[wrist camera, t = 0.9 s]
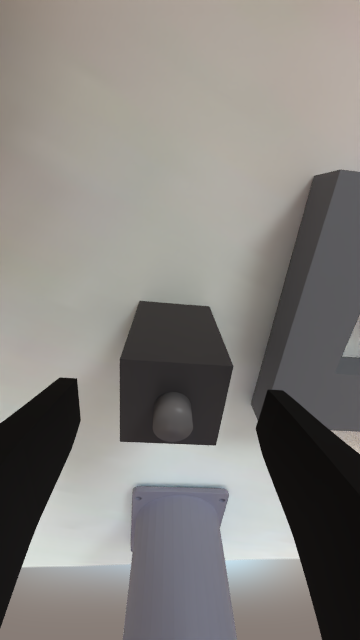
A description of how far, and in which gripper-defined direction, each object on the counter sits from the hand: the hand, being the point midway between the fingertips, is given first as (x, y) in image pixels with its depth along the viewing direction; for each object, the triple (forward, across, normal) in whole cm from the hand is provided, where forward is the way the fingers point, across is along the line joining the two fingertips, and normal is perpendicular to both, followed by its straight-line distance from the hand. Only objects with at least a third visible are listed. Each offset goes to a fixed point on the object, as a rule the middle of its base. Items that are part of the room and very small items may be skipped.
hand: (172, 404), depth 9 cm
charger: (+6, 0, 0) cm, 6 cm away
